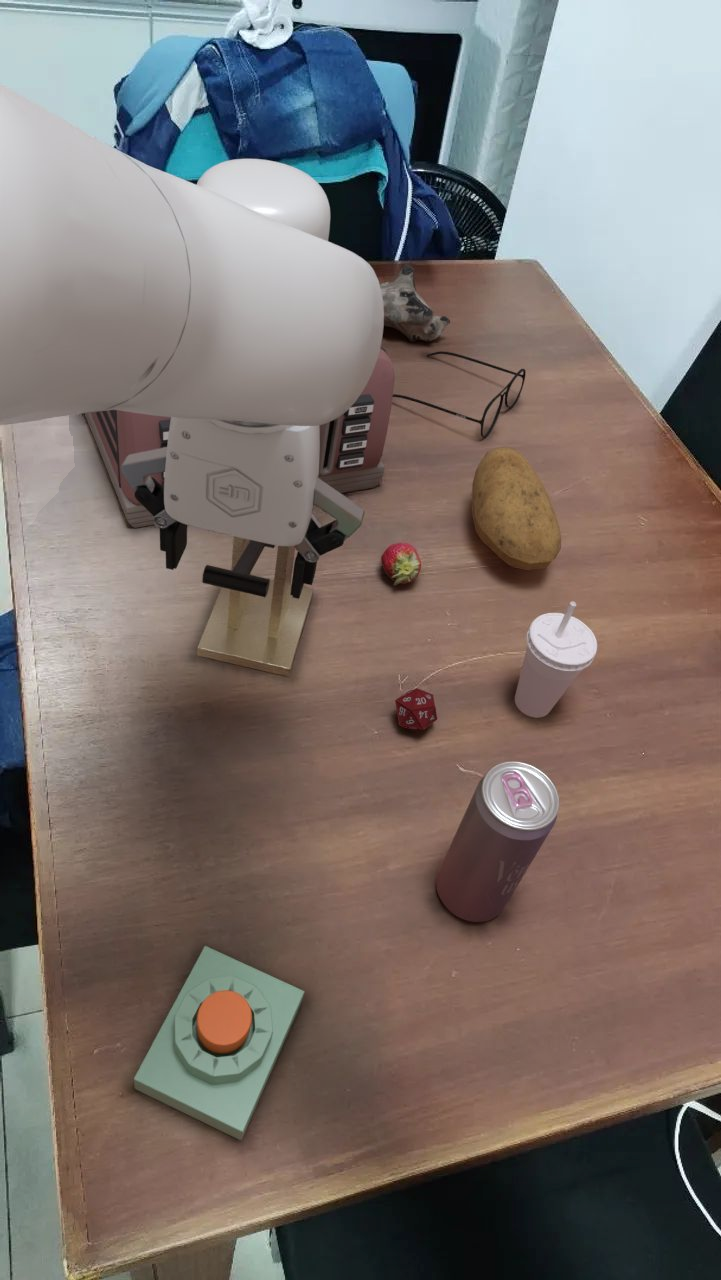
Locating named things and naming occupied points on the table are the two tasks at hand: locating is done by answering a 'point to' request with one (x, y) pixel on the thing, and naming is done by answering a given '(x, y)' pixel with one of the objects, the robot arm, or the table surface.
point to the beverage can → (497, 840)
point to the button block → (213, 1080)
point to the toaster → (343, 442)
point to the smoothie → (553, 660)
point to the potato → (514, 511)
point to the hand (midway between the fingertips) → (237, 571)
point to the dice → (416, 710)
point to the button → (224, 1021)
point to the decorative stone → (410, 309)
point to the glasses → (490, 401)
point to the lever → (240, 573)
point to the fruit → (401, 562)
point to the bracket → (258, 620)
